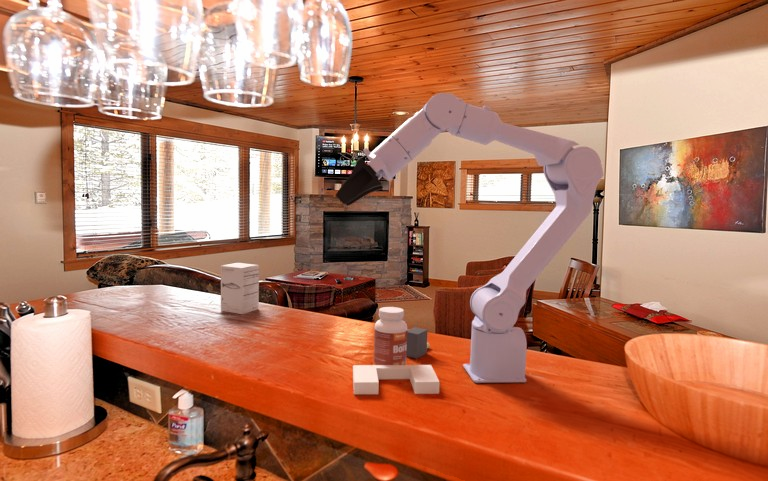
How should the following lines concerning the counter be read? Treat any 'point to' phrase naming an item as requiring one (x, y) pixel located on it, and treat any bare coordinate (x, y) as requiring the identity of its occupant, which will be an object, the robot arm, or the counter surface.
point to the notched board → (394, 377)
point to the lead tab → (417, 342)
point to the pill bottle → (390, 337)
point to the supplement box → (239, 288)
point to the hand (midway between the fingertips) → (341, 200)
